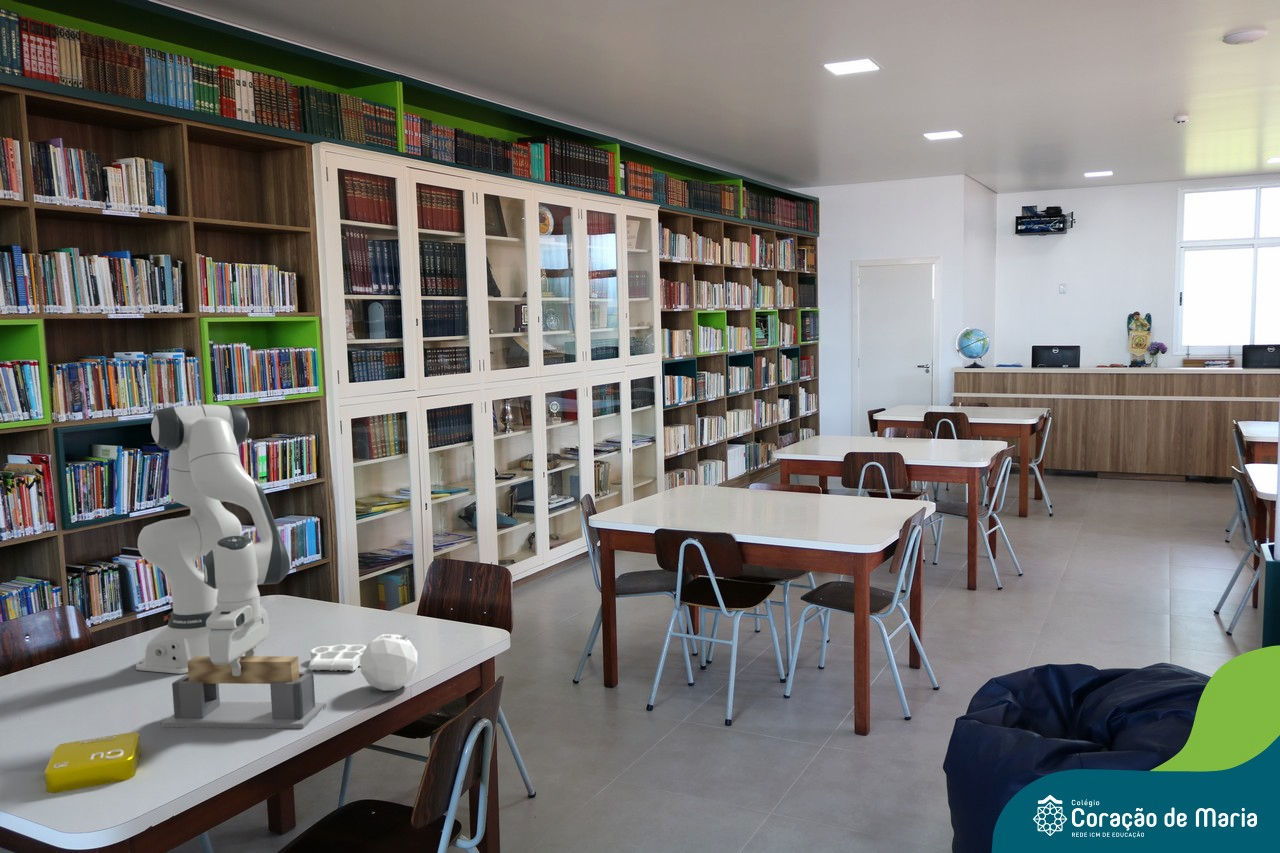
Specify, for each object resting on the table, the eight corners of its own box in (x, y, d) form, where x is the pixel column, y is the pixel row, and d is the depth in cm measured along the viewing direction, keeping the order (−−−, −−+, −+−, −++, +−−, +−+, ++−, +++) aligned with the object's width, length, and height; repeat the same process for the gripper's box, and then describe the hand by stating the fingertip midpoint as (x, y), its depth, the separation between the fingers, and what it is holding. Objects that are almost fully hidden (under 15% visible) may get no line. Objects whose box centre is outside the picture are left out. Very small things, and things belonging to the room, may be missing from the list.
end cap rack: (162, 726, 209) (159, 687, 209) (192, 705, 221) (189, 668, 221) (303, 728, 207) (300, 687, 206) (326, 706, 219) (323, 668, 218)
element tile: (141, 750, 198) (139, 727, 198) (134, 780, 185) (132, 756, 184) (58, 764, 193) (56, 741, 192) (44, 796, 179) (42, 772, 178)
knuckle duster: (297, 673, 242) (321, 654, 257) (365, 674, 241) (386, 655, 255) (296, 660, 242) (321, 642, 257) (364, 661, 240) (386, 642, 255)
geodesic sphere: (429, 650, 239) (392, 611, 235) (438, 667, 226) (399, 627, 222) (383, 691, 236) (346, 653, 232) (390, 710, 223) (350, 670, 219)
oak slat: (189, 683, 213) (187, 661, 212) (197, 677, 216) (196, 656, 216) (292, 683, 210) (290, 661, 210) (299, 678, 214) (298, 656, 213)
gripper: (248, 597, 222) (252, 655, 224) (201, 623, 202) (205, 687, 203) (274, 597, 222) (278, 655, 223) (229, 623, 202) (234, 687, 203)
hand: (243, 671), depth 213 cm, fingers closed on oak slat, 3 cm apart
